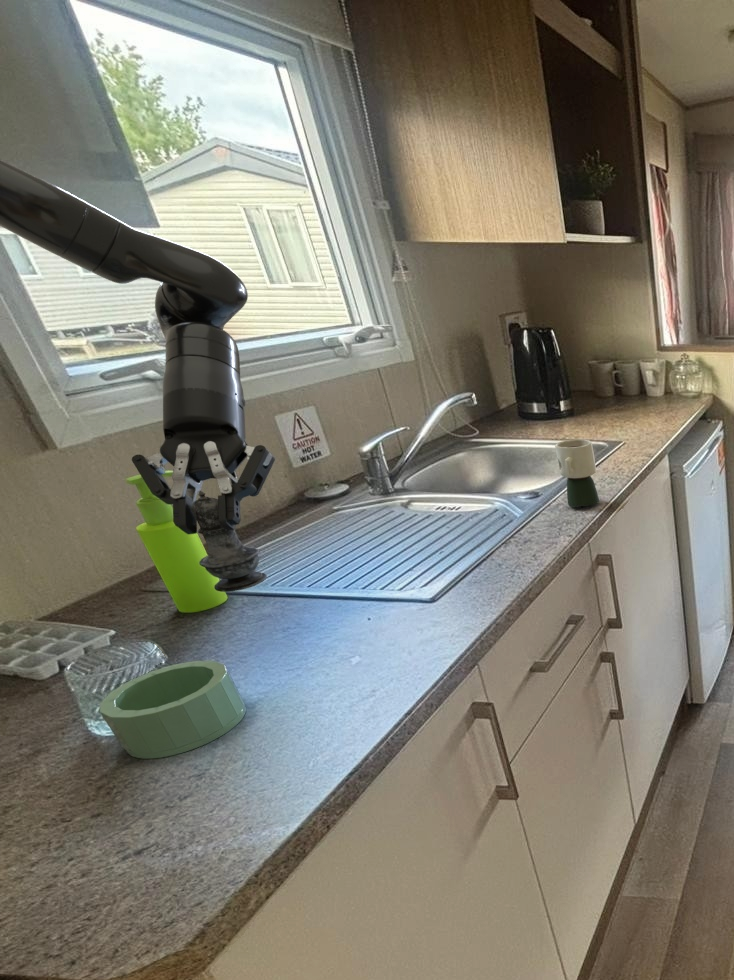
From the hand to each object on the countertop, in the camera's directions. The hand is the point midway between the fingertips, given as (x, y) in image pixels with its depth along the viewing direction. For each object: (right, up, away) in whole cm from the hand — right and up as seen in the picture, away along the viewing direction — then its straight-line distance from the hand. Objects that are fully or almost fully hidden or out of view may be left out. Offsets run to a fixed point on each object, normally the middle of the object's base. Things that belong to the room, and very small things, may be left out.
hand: (208, 528), depth 77 cm
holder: (+1, -23, -4) cm, 23 cm away
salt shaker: (-1, -6, +6) cm, 8 cm away
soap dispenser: (-21, -9, +23) cm, 32 cm away
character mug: (+25, +11, +60) cm, 66 cm away
